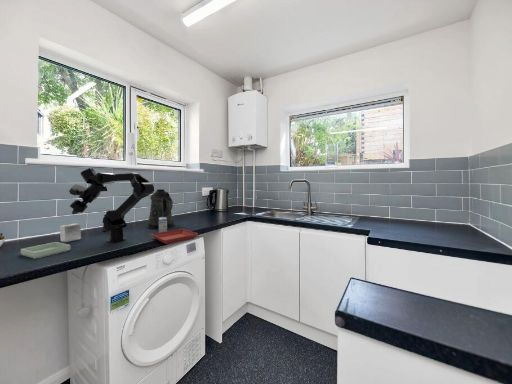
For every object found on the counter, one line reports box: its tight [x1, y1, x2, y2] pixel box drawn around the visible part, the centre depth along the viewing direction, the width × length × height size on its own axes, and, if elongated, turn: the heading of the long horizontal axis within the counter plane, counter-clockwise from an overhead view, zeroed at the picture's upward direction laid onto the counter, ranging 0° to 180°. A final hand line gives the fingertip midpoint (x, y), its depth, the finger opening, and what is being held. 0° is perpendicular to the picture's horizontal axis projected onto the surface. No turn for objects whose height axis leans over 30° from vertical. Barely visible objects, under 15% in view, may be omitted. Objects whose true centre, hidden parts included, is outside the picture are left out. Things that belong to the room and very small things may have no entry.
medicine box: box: [158, 217, 168, 233], centre depth 134 cm, size 8×4×9 cm, turn 23°
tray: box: [20, 241, 71, 260], centre depth 97 cm, size 12×12×2 cm
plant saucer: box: [151, 228, 199, 245], centre depth 119 cm, size 18×18×3 cm
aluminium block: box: [59, 223, 82, 243], centre depth 117 cm, size 4×7×8 cm, turn 155°
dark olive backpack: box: [146, 188, 175, 230], centre depth 151 cm, size 16×19×25 cm
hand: (77, 209), depth 122 cm, fingers open, 9 cm apart
